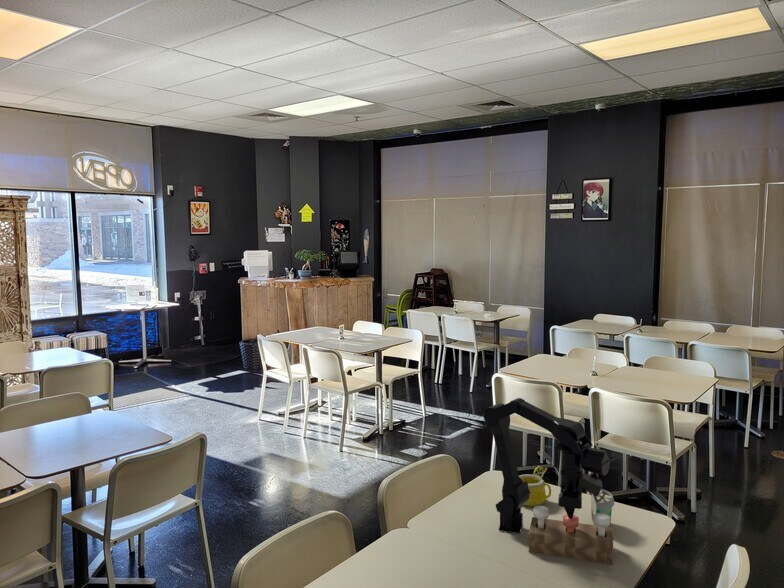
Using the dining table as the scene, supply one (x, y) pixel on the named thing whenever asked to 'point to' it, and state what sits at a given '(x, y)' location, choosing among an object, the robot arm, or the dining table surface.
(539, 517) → the left grey plug
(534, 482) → the mug
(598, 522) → the right grey plug
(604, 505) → the food container
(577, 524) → the salmon round-head knob
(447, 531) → the dining table surface
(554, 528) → the walnut plug block
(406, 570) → the dining table surface
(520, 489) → the robot arm
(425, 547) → the dining table surface
